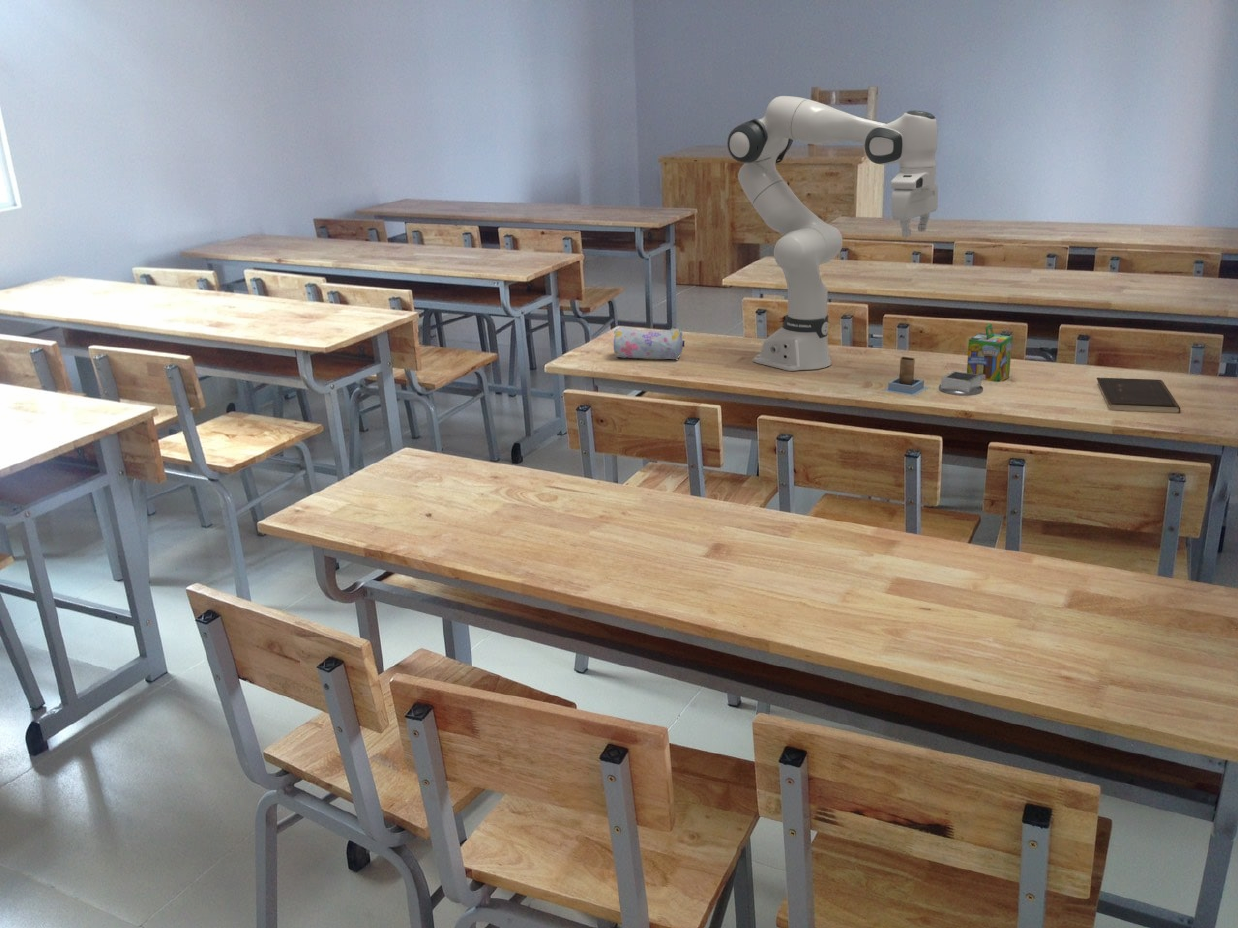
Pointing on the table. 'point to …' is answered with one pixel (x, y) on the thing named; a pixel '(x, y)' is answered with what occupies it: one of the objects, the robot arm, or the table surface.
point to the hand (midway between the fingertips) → (914, 233)
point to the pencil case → (648, 343)
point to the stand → (906, 387)
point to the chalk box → (990, 355)
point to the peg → (906, 371)
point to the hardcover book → (1137, 395)
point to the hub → (961, 384)
